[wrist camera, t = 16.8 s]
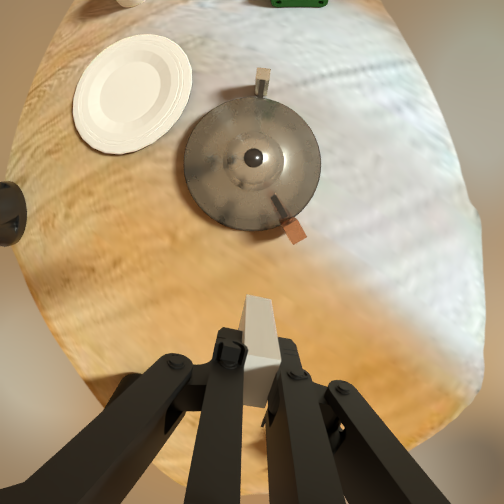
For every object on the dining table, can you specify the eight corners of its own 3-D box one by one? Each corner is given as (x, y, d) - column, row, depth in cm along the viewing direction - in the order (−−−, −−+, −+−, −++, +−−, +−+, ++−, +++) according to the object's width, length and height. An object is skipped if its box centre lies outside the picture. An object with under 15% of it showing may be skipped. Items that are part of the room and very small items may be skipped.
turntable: (163, 142, 46) (152, 138, 40) (275, 78, 43) (278, 66, 38) (238, 267, 50) (236, 276, 45) (349, 203, 48) (360, 205, 42)
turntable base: (163, 125, 47) (148, 115, 39) (283, 75, 45) (288, 57, 37) (217, 250, 51) (212, 261, 44) (338, 199, 49) (353, 202, 42)
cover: (218, 184, 46) (213, 184, 41) (230, 127, 44) (227, 119, 39) (276, 196, 46) (280, 197, 41) (288, 139, 44) (293, 133, 39)
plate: (88, 49, 42) (83, 46, 40) (200, 32, 43) (199, 27, 41) (71, 159, 48) (66, 158, 46) (188, 153, 48) (186, 152, 46)
